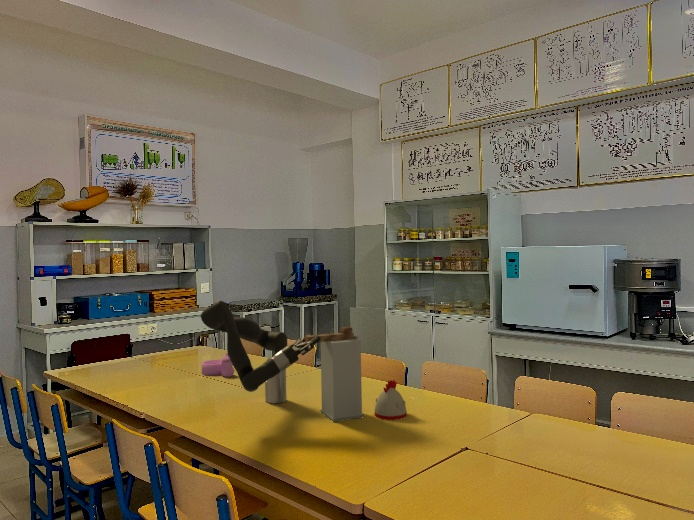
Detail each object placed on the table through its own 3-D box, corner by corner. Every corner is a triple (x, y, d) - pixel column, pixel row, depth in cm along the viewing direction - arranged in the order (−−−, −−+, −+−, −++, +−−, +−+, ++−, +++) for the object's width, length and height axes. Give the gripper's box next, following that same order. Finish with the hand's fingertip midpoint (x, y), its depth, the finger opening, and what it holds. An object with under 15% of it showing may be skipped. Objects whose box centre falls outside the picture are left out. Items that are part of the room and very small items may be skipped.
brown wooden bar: (307, 342, 226) (307, 331, 226) (304, 341, 229) (304, 330, 229) (353, 338, 234) (353, 327, 234) (350, 337, 238) (349, 326, 238)
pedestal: (333, 422, 225) (331, 340, 224) (320, 412, 238) (319, 335, 238) (363, 417, 230) (362, 337, 230) (349, 408, 244) (348, 333, 243)
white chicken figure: (413, 414, 234) (412, 380, 233) (393, 422, 224) (392, 386, 223) (387, 408, 243) (387, 375, 243) (367, 415, 233) (367, 381, 233)
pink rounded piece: (196, 373, 323) (196, 351, 323) (218, 368, 334) (218, 347, 334) (220, 379, 306) (219, 356, 306) (242, 374, 317) (242, 352, 317)
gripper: (284, 362, 231) (314, 341, 237) (294, 369, 218) (326, 346, 224) (275, 348, 230) (306, 327, 235) (285, 354, 216) (317, 331, 222)
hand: (316, 336), depth 229 cm, fingers open, 8 cm apart
